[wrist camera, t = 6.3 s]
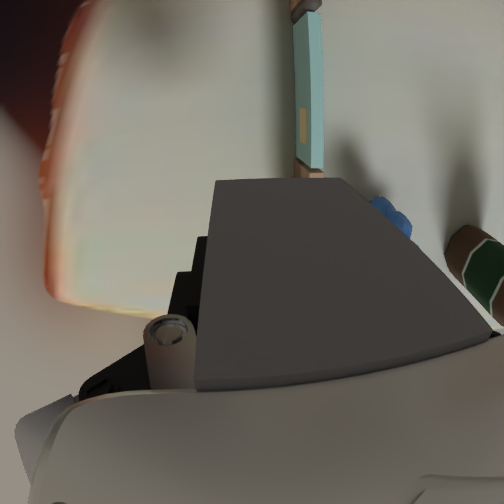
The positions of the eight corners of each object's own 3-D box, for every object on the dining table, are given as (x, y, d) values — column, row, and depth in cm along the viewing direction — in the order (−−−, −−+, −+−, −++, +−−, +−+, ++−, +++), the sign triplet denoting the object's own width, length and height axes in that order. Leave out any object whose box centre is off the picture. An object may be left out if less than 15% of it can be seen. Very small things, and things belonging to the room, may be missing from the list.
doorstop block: (215, 180, 11) (193, 379, 4) (340, 178, 12) (493, 330, 4) (225, 303, 14) (229, 491, 6) (326, 296, 15) (391, 464, 7)
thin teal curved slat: (291, 26, 21) (306, 11, 16) (303, 27, 21) (320, 12, 17) (295, 156, 27) (309, 168, 23) (306, 155, 27) (323, 168, 23)
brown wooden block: (287, -28, 18) (301, -52, 13) (299, -27, 18) (316, -50, 13) (294, 212, 30) (308, 237, 25) (305, 211, 30) (321, 236, 25)
